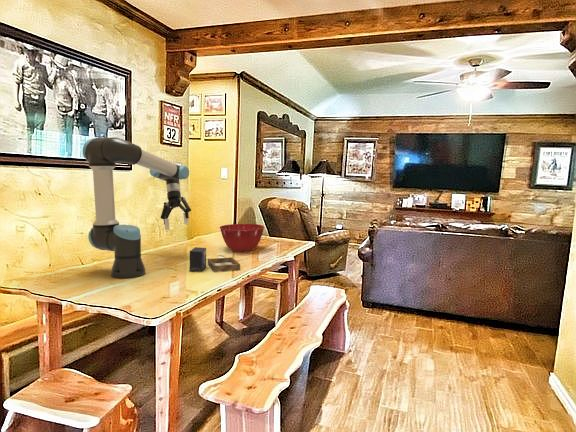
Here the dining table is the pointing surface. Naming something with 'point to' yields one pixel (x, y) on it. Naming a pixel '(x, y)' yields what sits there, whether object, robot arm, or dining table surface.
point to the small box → (197, 259)
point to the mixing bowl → (242, 236)
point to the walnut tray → (223, 264)
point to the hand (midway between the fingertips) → (176, 227)
